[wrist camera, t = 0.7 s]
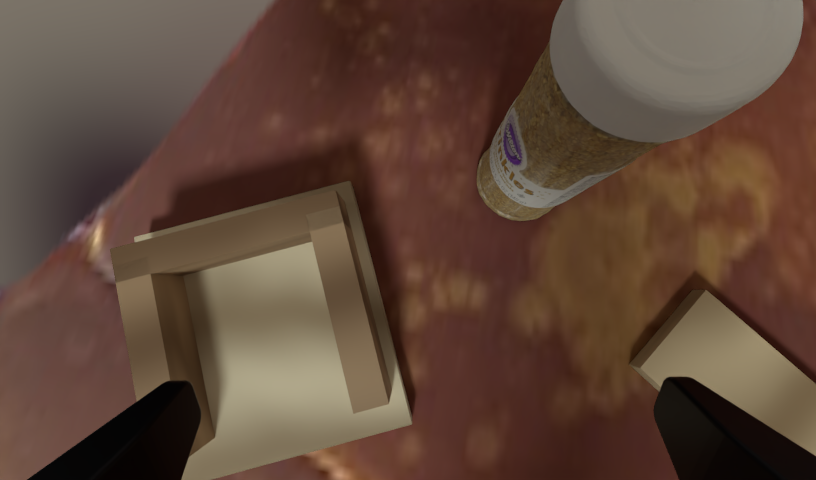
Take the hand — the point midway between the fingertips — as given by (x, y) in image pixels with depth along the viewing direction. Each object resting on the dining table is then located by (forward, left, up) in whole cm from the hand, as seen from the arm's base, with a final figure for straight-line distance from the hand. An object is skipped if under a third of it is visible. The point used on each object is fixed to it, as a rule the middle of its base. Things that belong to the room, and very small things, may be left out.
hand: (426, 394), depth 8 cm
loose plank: (-12, -13, -13) cm, 22 cm away
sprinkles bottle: (+4, -8, -13) cm, 16 cm away
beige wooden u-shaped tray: (+4, +6, -13) cm, 15 cm away
